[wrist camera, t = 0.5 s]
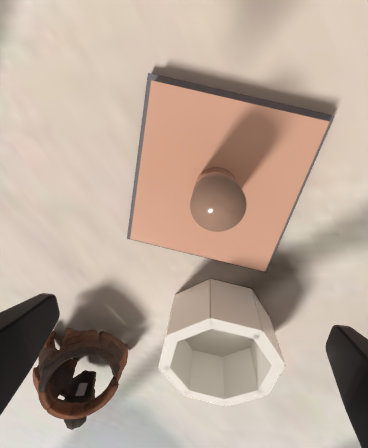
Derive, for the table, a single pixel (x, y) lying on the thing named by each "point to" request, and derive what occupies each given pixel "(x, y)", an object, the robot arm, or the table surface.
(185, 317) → the bowl
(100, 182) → the table surface
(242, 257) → the lid
